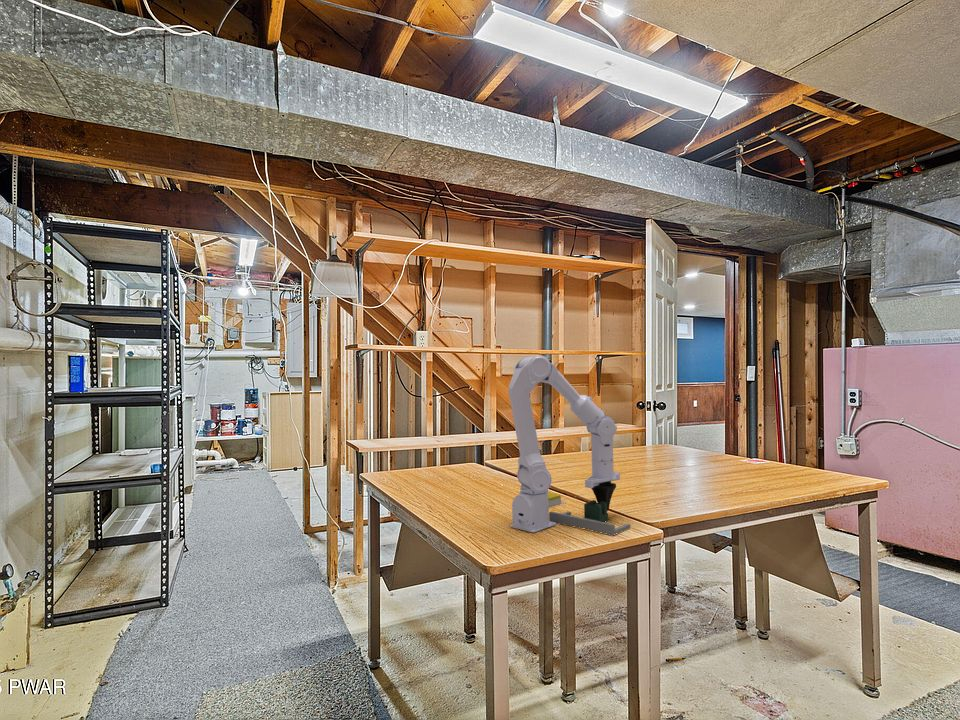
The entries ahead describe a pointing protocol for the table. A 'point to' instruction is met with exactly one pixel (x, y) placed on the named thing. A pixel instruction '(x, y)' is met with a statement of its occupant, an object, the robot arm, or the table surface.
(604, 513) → the mount
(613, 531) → the u-shaped gray bracket
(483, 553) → the table surface
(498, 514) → the table surface
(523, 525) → the robot arm
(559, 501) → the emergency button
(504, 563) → the table surface
